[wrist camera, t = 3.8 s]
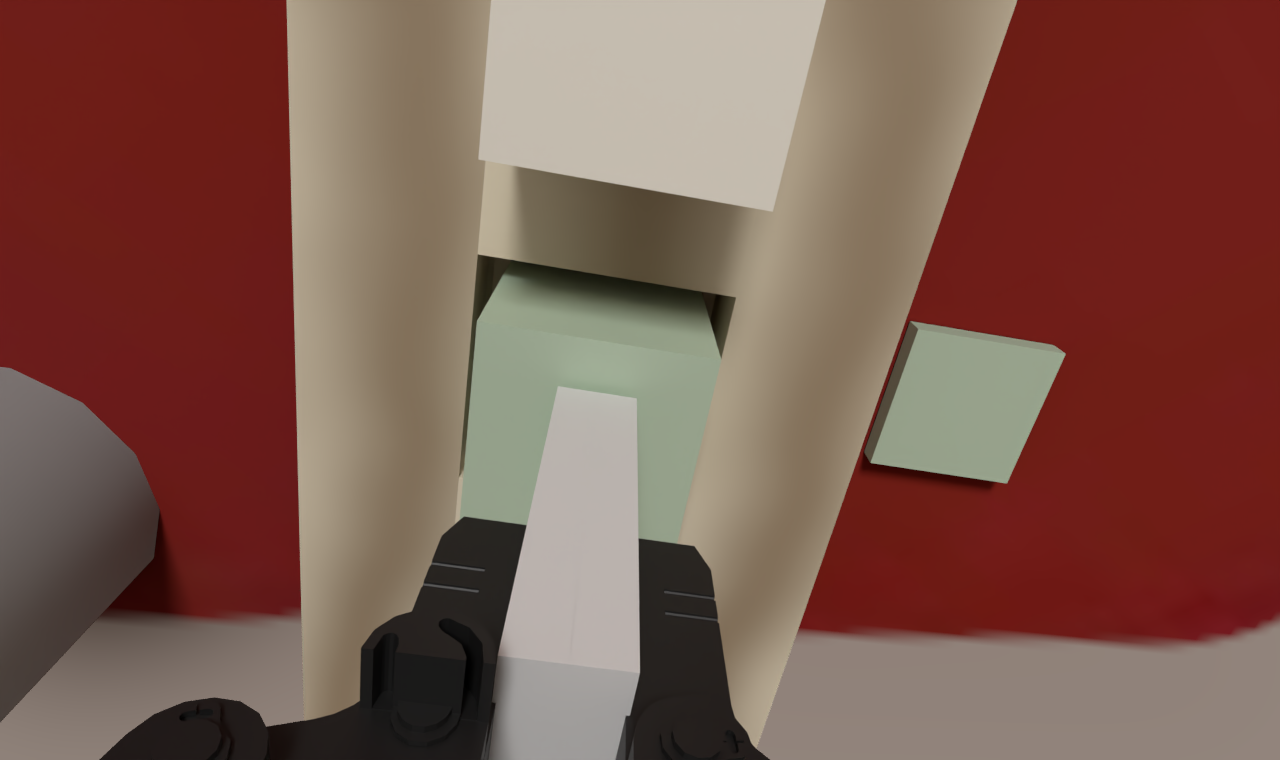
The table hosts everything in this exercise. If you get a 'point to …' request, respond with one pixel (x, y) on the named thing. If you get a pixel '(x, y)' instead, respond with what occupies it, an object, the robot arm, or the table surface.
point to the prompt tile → (961, 402)
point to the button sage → (587, 384)
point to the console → (612, 246)
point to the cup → (61, 527)
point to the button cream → (650, 91)
